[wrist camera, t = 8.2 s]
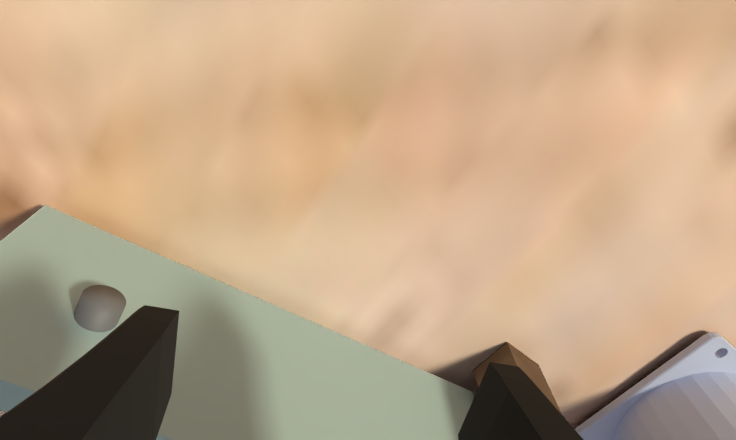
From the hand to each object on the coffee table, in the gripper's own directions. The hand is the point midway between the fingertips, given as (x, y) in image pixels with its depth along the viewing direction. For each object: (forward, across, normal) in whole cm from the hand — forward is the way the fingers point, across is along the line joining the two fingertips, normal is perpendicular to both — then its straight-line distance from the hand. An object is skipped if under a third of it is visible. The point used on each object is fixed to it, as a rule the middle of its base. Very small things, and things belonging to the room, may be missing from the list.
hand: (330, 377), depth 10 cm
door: (+9, +1, +6) cm, 11 cm away
